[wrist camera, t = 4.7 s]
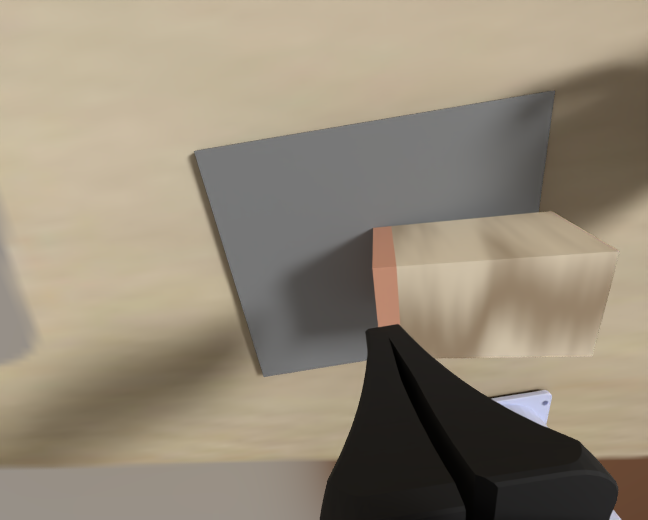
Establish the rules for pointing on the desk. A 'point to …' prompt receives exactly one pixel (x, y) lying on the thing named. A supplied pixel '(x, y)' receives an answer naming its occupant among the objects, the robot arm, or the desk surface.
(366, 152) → the mat
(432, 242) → the block
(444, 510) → the robot arm
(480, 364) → the desk surface
